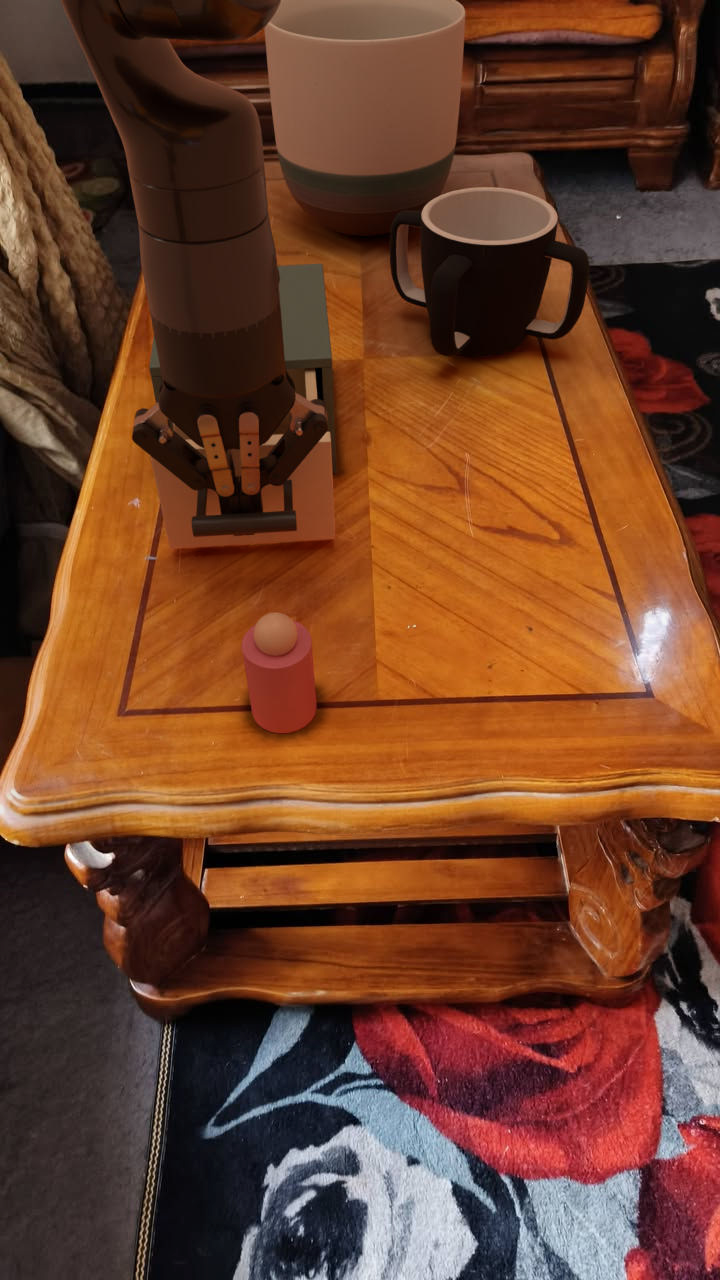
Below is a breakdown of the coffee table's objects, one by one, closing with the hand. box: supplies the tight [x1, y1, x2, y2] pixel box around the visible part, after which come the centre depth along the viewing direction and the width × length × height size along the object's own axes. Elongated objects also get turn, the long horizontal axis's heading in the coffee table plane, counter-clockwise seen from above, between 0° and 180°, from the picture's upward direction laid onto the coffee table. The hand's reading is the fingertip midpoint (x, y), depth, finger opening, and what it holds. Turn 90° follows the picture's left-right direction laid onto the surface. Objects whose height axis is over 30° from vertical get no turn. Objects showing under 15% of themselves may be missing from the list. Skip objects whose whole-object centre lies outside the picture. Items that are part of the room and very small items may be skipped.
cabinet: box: [148, 263, 338, 474], centre depth 80 cm, size 16×14×11 cm
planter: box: [264, 0, 466, 237], centre depth 104 cm, size 20×20×21 cm
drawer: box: [149, 368, 336, 550], centre depth 72 cm, size 19×12×9 cm, turn 4°
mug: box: [389, 186, 591, 358], centre depth 89 cm, size 16×16×12 cm
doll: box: [241, 611, 318, 734], centre depth 59 cm, size 4×4×8 cm
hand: (245, 527), depth 67 cm, fingers closed
